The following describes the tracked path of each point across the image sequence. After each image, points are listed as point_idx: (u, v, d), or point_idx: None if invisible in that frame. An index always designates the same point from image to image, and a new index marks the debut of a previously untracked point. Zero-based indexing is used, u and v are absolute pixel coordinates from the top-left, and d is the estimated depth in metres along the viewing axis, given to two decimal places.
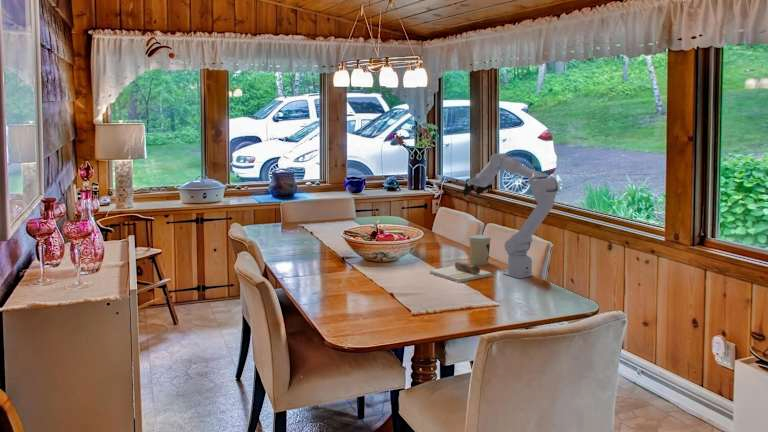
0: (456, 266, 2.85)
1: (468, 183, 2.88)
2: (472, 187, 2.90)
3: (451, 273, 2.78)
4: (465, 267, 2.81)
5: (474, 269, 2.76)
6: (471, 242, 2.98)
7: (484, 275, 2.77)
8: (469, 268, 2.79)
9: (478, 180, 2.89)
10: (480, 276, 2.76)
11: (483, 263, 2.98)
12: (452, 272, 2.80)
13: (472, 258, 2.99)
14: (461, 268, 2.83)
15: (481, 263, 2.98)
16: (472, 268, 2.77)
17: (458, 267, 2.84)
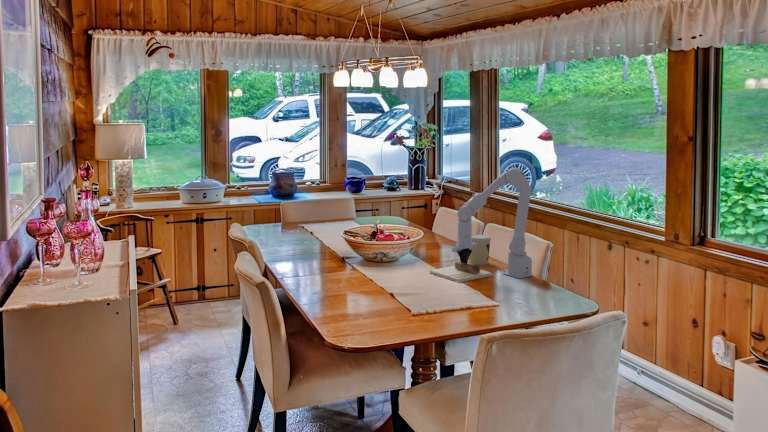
0: (456, 266, 2.85)
1: (453, 250, 2.79)
2: (466, 251, 2.83)
3: (451, 273, 2.78)
4: (465, 267, 2.81)
5: (474, 269, 2.76)
6: None
7: (484, 275, 2.77)
8: (469, 268, 2.79)
9: (460, 244, 2.82)
10: (480, 276, 2.76)
11: (483, 263, 2.98)
12: (452, 272, 2.80)
13: (472, 258, 2.99)
14: (461, 268, 2.83)
15: (481, 263, 2.98)
16: (472, 268, 2.77)
17: (458, 267, 2.84)
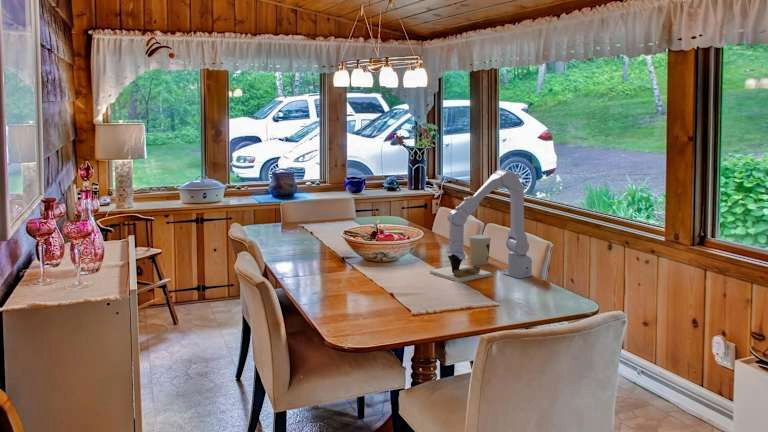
0: (459, 274, 2.71)
1: (463, 257, 2.66)
2: None
3: (451, 273, 2.78)
4: (469, 271, 2.74)
5: (478, 268, 2.78)
6: (471, 242, 2.98)
7: (484, 275, 2.77)
8: (473, 270, 2.76)
9: (459, 250, 2.70)
10: (480, 276, 2.76)
11: (483, 263, 2.98)
12: None
13: (472, 258, 2.99)
14: (465, 274, 2.73)
15: (481, 263, 2.98)
16: (476, 268, 2.77)
17: (461, 274, 2.72)
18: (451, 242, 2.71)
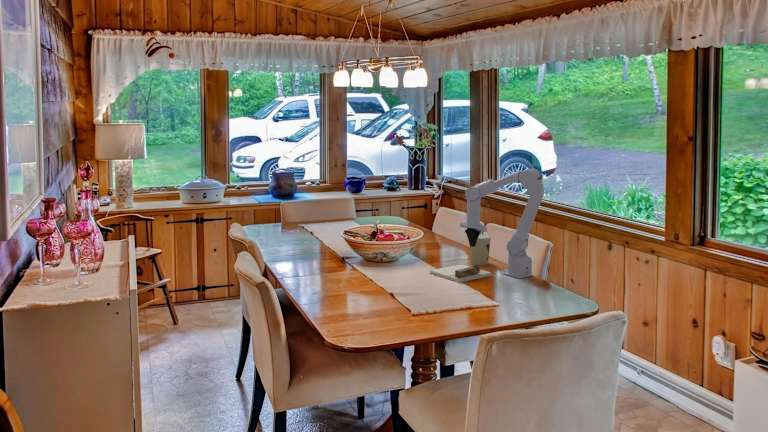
0: (461, 275, 2.71)
1: None
2: (468, 230, 2.88)
3: (451, 273, 2.78)
4: (470, 271, 2.74)
5: (478, 268, 2.78)
6: None
7: (484, 275, 2.77)
8: (474, 270, 2.76)
9: None
10: (480, 276, 2.76)
11: (483, 263, 2.98)
12: (452, 272, 2.80)
13: (472, 258, 2.99)
14: (466, 274, 2.73)
15: (481, 263, 2.98)
16: (477, 268, 2.77)
17: (463, 275, 2.72)
18: None
